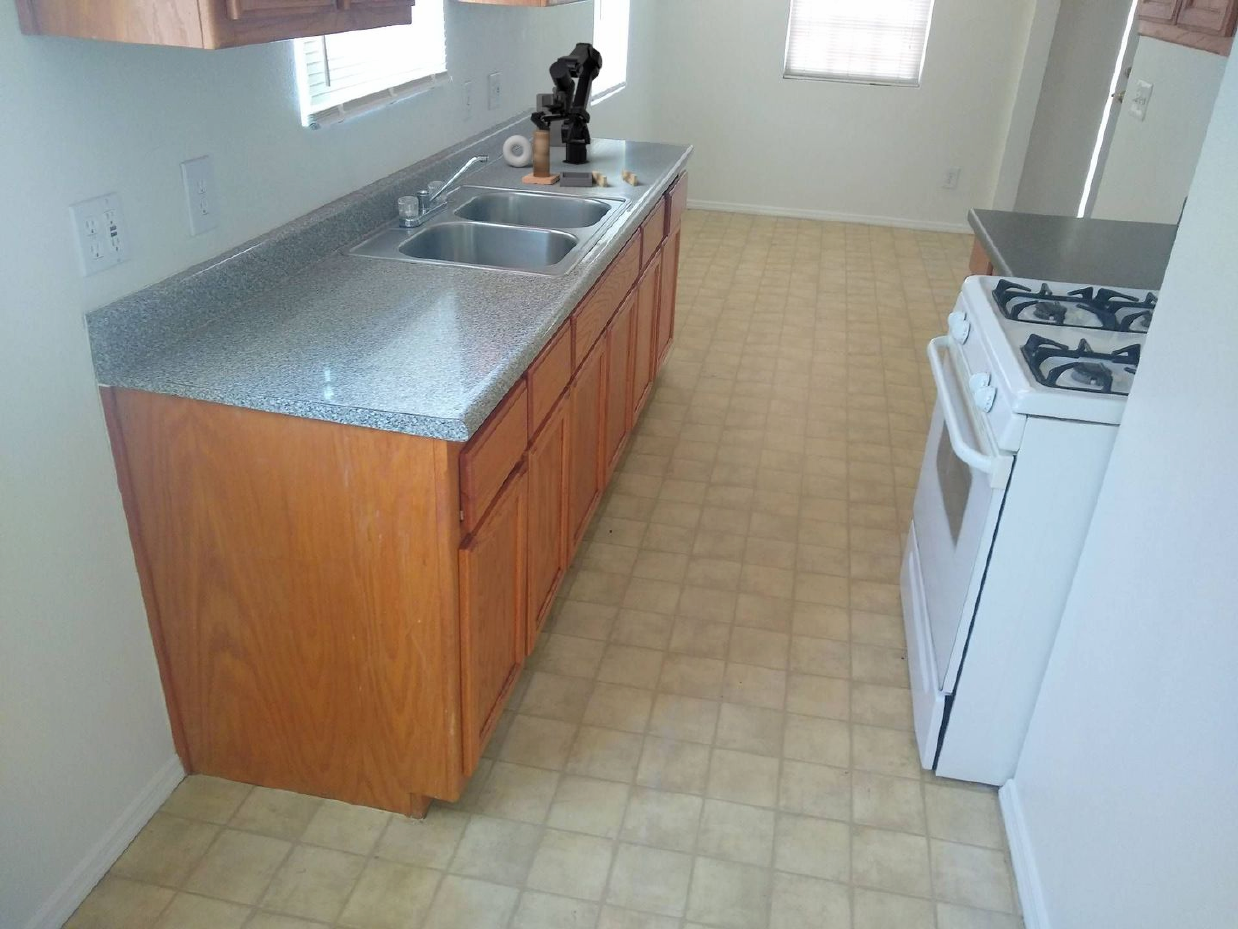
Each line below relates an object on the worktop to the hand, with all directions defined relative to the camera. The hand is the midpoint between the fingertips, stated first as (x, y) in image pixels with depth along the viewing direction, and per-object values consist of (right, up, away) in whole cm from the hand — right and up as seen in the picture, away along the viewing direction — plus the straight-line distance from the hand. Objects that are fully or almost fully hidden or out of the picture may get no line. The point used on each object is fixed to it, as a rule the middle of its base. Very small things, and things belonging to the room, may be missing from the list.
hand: (555, 142), depth 294 cm
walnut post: (-4, -11, -4) cm, 13 cm away
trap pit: (+6, -14, -5) cm, 16 cm away
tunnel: (+18, -13, -3) cm, 23 cm away
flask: (-3, +17, +54) cm, 56 cm away
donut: (-13, -3, +15) cm, 20 cm away
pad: (-4, -13, -3) cm, 14 cm away
